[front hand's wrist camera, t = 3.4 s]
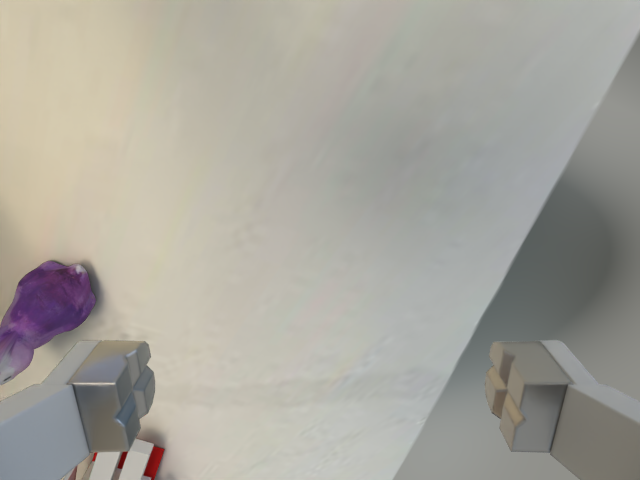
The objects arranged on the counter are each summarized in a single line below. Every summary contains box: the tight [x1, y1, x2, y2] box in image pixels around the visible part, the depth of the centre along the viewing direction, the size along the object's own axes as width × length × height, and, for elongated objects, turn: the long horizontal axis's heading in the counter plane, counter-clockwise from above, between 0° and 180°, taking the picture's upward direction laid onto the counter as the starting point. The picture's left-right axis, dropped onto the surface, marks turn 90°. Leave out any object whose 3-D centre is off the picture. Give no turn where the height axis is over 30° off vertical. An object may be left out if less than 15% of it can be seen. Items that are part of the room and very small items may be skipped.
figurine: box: [0, 261, 96, 385], centre depth 49 cm, size 9×10×15 cm
